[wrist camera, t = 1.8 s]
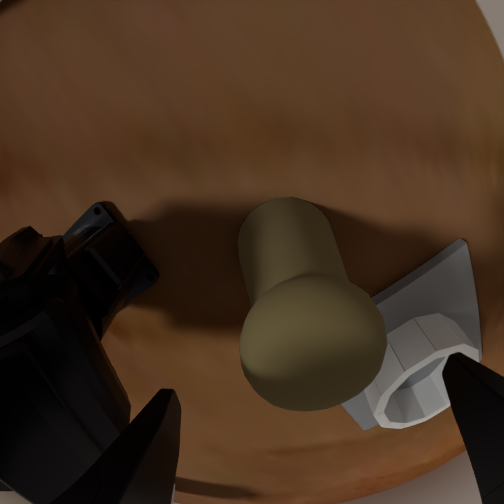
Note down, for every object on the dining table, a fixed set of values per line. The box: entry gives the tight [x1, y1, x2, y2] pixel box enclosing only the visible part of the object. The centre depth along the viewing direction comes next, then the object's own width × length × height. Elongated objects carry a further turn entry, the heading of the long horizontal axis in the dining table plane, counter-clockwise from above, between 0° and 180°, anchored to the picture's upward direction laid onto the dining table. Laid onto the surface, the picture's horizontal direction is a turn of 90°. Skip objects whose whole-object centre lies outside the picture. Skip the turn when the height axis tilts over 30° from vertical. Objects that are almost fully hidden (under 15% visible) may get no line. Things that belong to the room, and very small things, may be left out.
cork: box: [237, 197, 388, 411], centre depth 13 cm, size 6×6×11 cm
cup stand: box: [341, 238, 482, 431], centre depth 20 cm, size 15×16×5 cm
